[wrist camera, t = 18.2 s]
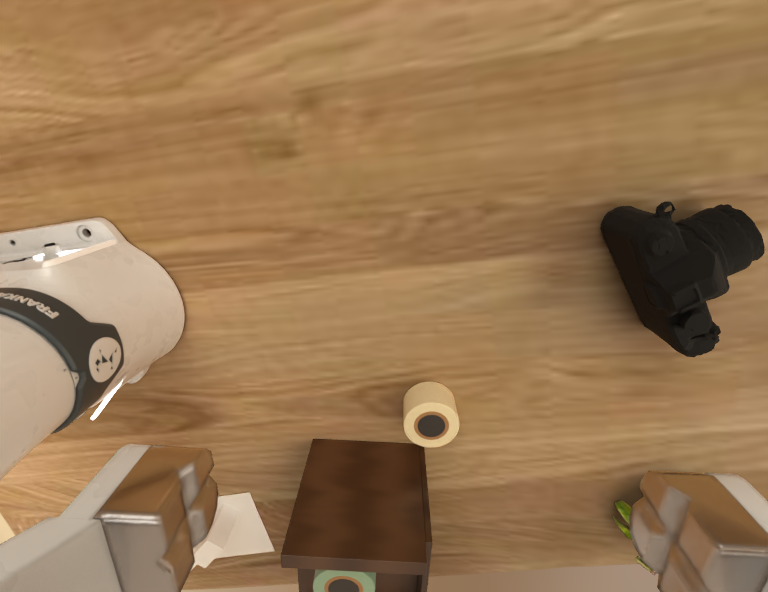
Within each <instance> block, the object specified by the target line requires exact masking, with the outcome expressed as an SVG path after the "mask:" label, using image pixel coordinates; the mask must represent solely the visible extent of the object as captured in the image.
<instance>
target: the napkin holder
mask: <svg viewBox="0 0 768 592" xmlns="http://www.w3.org/2000/svg"><path fill="white" fill-rule="evenodd" d="M272 551H275V550H274V548H273V546H272V543H271V541H270V539H269V536H268V534H267V532H266V529H265V527H264V525H263V523H262V520H261V518H260V516H259V513H258V511H257V509H256V506H255V504H254V502H253V499H252V497H251V495H250V492H248V493H241V494H233V495H226V496H219V497H218V505H217V510H216V514H215V517H214V521H213V524H212V526H211V529H210V531H209V533H208V535H207V537H206V538H205V539H204V540H203V541H202V542H200V543H199V544H198V545H197V546H195V547H194V548H193V553H194V558H195V563H194V565H193V567H192V569H193V568H194V567H195V566H196V565H199V566H201V567H203V568H206V567H207V566H208V565H209V564H210V563H211V562H212V561H213V560H214V559H215V558H222V557H230V556H239V555H247V554H255V553H263V552H272ZM192 569H191V570H192Z"/></svg>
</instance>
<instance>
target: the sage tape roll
mask: <svg viewBox="0 0 768 592" xmlns="http://www.w3.org/2000/svg"><path fill="white" fill-rule="evenodd" d="M375 584H376V573H373V572H355V571H336V570H318V569H316V570H315V576H314V581H313V590H314V592H375Z"/></svg>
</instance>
